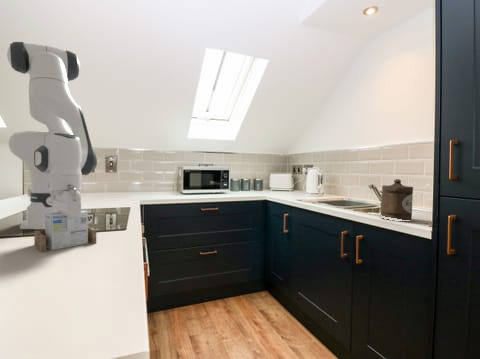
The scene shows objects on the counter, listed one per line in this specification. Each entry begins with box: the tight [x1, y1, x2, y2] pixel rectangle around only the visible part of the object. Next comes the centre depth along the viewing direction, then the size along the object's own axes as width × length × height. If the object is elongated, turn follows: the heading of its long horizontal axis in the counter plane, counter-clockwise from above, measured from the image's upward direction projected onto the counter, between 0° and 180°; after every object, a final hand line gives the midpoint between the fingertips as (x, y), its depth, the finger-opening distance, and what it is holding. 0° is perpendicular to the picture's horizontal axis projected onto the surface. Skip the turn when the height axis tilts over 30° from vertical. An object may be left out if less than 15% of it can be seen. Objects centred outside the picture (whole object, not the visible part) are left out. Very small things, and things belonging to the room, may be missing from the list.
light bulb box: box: [44, 209, 89, 251], centre depth 89 cm, size 11×7×11 cm, turn 141°
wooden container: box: [380, 178, 414, 221], centre depth 151 cm, size 15×15×22 cm
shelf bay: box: [33, 225, 97, 253], centre depth 90 cm, size 10×15×4 cm
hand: (65, 227), depth 88 cm, fingers open, 8 cm apart
